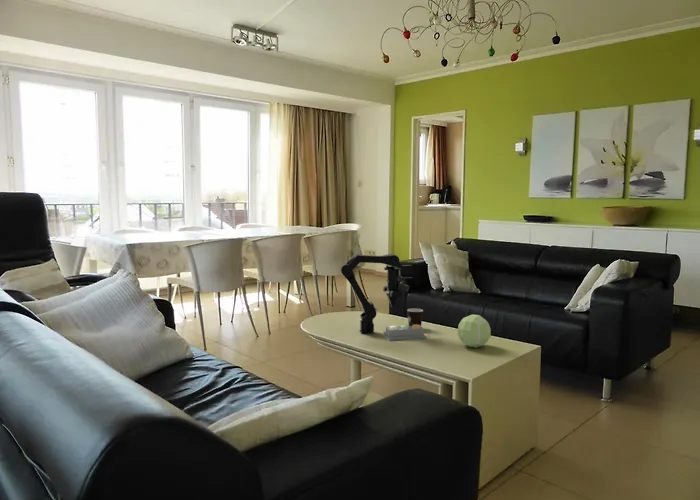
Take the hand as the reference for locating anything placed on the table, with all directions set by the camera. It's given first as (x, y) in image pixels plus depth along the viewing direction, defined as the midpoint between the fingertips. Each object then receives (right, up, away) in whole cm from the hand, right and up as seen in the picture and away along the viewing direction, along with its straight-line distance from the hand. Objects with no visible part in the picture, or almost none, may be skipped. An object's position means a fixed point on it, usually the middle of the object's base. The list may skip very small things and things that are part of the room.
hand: (392, 307), depth 276 cm
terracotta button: (+11, -12, -8) cm, 19 cm away
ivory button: (-1, -13, -10) cm, 16 cm away
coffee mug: (+13, -12, +10) cm, 20 cm away
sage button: (+5, -12, -9) cm, 16 cm away
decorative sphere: (+36, -16, -27) cm, 48 cm away
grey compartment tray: (+5, -14, -9) cm, 17 cm away
